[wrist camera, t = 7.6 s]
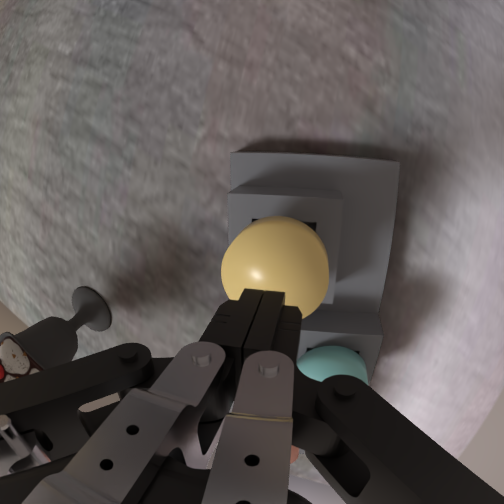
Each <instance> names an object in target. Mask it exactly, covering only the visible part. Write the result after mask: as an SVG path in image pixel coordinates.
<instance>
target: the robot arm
mask: <svg viewBox="0 0 504 504" xmlns="http://www.w3.org/2000/svg"><path fill="white" fill-rule="evenodd" d="M302 315H303V314H302V313H301V311H300V309H299V308H298V306H288V305H285V292H280V291H270V290H265V291H264V290H259V289H249V288H244V290H243V292H242V294H241V296H240V298H239V300H230V299H229V300H228V301H226V302H225V303H223V304H222V305H220V306H219V308H218V310H217V311H216V313H215V315H214V316H213V318H212V320H211V322H210V323H209V325H208V326H207V328H206V330H205V331H204V333H203V335H202V336H201V338H200V340H199V341H198V342H194V343H191V344H188V345H186V346H184V347H183V348H182V349H181V350H180V351H179V352H178V353H177V355H176V356H175V357H171V358H152V356H151V352H150V350H149V349H148V348H147V347H146V346H145V345H142V344H139V343H125V344H122V345H119V346H116V347H113V348H110V349H107V350H104V351H101V352H98V353H95V354H92V355H89V356H86V357H83V358H80V359H77V360H74V361H71V362H68V363H65V364H62V365H58V366H55V367H52V368H49V369H46V370H43V371H39V372H36V373H33V374H30V375H26V376H23V377H20V378H16V379H13V380H9V381H6V382H3V383H0V504H312V503H311V502H309V501H308V500H307V499H305V498H304V497H302V496H300V495H299V494H297V493H295V492H293V491H291V490H289V489H288V484H289V472H290V459H291V445H292V446H295V447H297V448H300V449H302V450H305V454H306V456H307V458H308V459H309V461H310V462H311V463H312V464H313V465H314V467H315V468H316V469H317V470H318V471H319V473H320V474H321V475H322V476H323V477H324V479H325V480H326V481H327V482H328V483H329V484H330V486H331V487H332V488H333V489H334V490H335V491H336V492H337V494H338V495H339V496H340V497H341V498H342V499H343V500H344V501H345V503H346V504H504V496H502V495H501V494H499V493H498V492H497V491H496V490H495V489H493V488H492V487H491V486H489V485H488V484H487V483H485V482H484V481H483V480H482V479H480V478H479V477H478V476H477V475H475V474H474V473H473V472H472V471H470V470H469V469H468V468H467V467H466V466H464V465H463V464H462V463H461V462H459V461H458V460H457V459H456V458H454V457H453V456H452V455H451V454H449V453H448V452H447V451H446V450H445V449H443V448H442V447H441V446H440V445H438V444H437V443H436V442H435V441H434V440H432V439H431V438H430V437H429V436H427V435H426V434H425V433H424V432H423V431H421V430H420V429H419V428H418V427H417V426H415V425H414V424H413V423H412V422H411V421H409V420H408V419H407V418H406V417H405V416H404V415H402V414H401V413H400V412H399V411H398V410H396V409H395V408H394V407H393V406H392V405H390V404H389V403H388V402H387V401H386V400H385V399H383V398H382V397H381V396H380V395H379V394H378V393H376V392H375V391H374V390H373V389H372V388H370V387H369V386H368V385H367V384H366V383H365V382H363V381H362V380H361V379H359V378H357V377H354V376H351V375H344V374H340V375H333V376H330V377H328V378H326V379H324V380H323V381H322V382H320V381H317V380H314V379H312V378H309V377H308V376H306V375H305V374H303V373H302V372H301V371H300V370H299V368H298V366H297V358H298V352H299V344H300V334H301V325H302ZM116 392H118V395H119V398H120V401H118V402H115V403H112V404H110V405H107V406H104V407H101V408H99V409H96V410H93V411H91V412H81V411H80V410H78V408H79V407H80V406H82V405H83V404H86V403H89V402H92V401H94V400H97V399H100V398H103V397H105V396H108V395H111V394H114V393H116ZM233 401H234V405H233V409H232V412H231V413H229V410H230V408H231V405H232V403H233ZM218 441H219V442H218ZM217 443H218V446H217V449H216V453H215V457H214V460H213V464H212V468H211V469H206V468H207V464H208V461H209V459H210V457H211V455H212V453H213V451H214V449H215V447H216V445H217Z"/></svg>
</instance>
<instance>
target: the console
mask: <svg viewBox="0 0 504 504" xmlns="http://www.w3.org/2000/svg"><path fill="white" fill-rule="evenodd" d="M230 170H231V191H230V192H229V193H227V205H228V245H229V246H230V245H231V243H232V242H233V241H234V240H235V238H236V237H237V236H238V234H239V233H240V232H241V231H242V230H243V229H244V228H245V227H246V226H248V225H249V224H250V223H252V222H254V221H256V220H258V219H261V218H264V217H270V216H284V217H290V218H293V219H296V220H299V221H301V222H303V223H304V224H306V225H307V226H309V227H310V228H311V229H312V230H313V231H315V232H316V234H317V235H318V236H319V237H320V239H321V240H322V242H323V244H324V246H325V248H326V252H327V255H328V266H329V284H328V289H327V292H326V295H325V297H324V299H323V301H322V302H321V304H320V305H319V306H318V308H317V309H316V310H315V311H314V312H312V313H311V314H310V315H308V316H307V317H305V318H303V319H302V325H301V334H300V344H299V352H298V358H297V360H298V359H299V358H300V357H301V356H302V355H303V354H305V353H306V352H308V351H310V350H312V349H313V348H318V347H322V346H341V347H346V348H348V349H351V350H353V351H355V352H356V353H358V354H359V355H360V356H361V357H362V359H363V360H364V362H365V365H366V370H367V378H368V386H369V384H370V381H371V378H372V375H373V371H374V368H375V365H376V362H377V358H378V355H379V351H380V348H381V344H382V340H383V337H384V334H383V330H382V326H381V322H380V318H379V314H378V313H379V309H380V304H381V300H382V295H383V290H384V284H385V279H386V274H387V268H388V262H389V256H390V250H391V243H392V237H393V229H394V222H395V214H396V205H397V195H398V185H399V173H400V162H397V161H394V160H386V159H376V158H367V157H356V156H344V155H331V154H315V153H294V152H260V151H236V152H231V153H230ZM304 452H305V450H302V449H300V448H299V454H304Z"/></svg>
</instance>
